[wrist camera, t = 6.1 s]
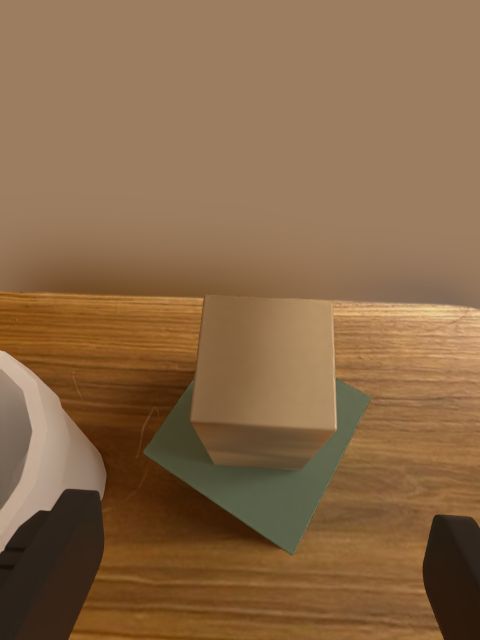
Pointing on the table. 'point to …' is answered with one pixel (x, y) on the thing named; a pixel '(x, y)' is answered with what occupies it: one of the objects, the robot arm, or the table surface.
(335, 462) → the stand
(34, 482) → the foam cup
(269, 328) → the block
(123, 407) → the table surface
